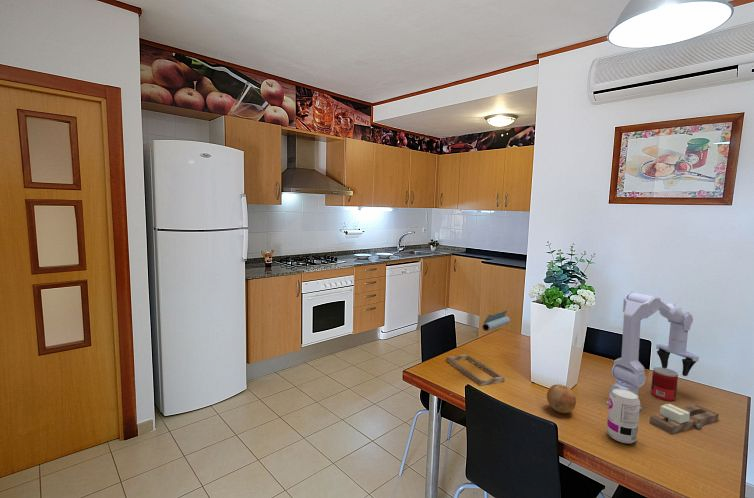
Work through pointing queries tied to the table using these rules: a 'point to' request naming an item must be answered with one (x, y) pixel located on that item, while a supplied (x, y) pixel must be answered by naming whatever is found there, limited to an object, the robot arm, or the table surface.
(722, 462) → the table surface
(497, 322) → the aluminum foil
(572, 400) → the onion
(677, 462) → the table surface
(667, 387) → the canned food
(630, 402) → the supplement can
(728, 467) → the table surface
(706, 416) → the wooden slotted frame
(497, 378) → the foil cradle
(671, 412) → the rider
